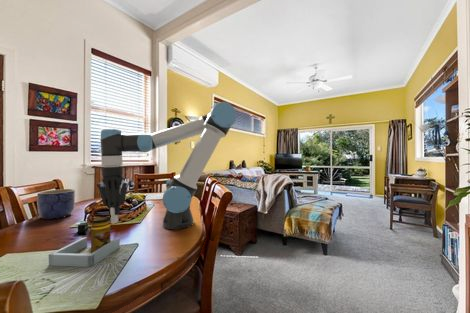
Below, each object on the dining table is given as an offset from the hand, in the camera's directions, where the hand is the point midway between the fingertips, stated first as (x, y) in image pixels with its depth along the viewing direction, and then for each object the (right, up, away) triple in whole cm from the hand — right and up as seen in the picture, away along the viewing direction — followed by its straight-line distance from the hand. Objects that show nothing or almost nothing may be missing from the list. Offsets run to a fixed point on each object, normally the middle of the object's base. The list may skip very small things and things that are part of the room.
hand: (114, 222), depth 86 cm
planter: (-54, -8, +34) cm, 64 cm away
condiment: (0, -8, -10) cm, 12 cm away
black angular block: (-20, -8, +9) cm, 23 cm away
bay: (-2, -7, -14) cm, 16 cm away
